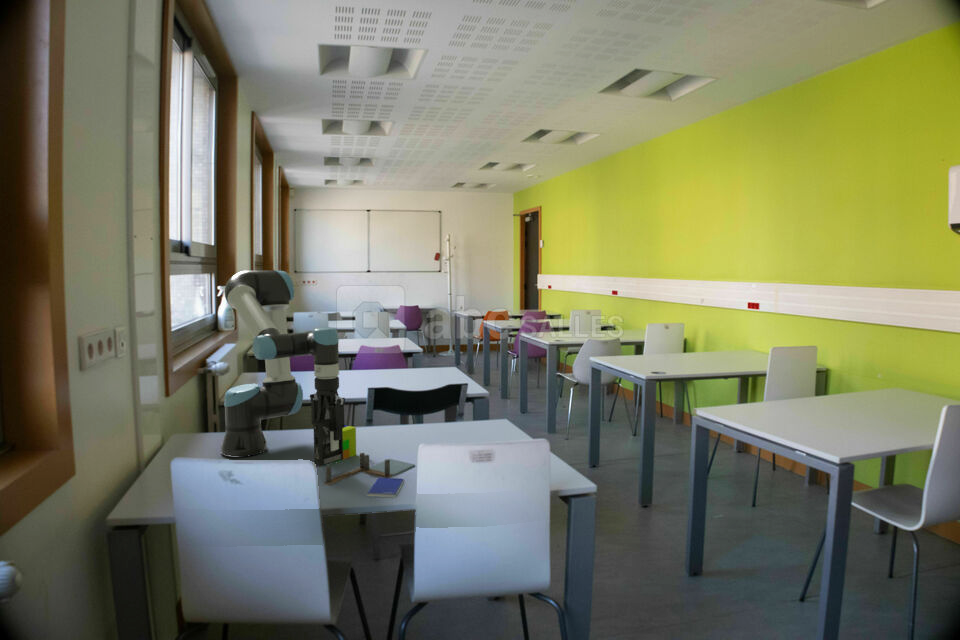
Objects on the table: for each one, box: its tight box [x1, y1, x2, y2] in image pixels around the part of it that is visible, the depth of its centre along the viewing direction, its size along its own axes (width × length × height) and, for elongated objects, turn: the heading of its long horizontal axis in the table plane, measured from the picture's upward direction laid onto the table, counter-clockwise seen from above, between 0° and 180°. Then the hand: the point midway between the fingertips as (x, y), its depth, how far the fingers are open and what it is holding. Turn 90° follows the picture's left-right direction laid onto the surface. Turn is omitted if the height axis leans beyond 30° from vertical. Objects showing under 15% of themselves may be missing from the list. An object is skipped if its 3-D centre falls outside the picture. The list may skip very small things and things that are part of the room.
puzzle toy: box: [334, 425, 357, 464], centre depth 200 cm, size 10×10×10 cm
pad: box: [369, 458, 416, 477], centre depth 189 cm, size 11×11×1 cm
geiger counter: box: [313, 417, 344, 468], centre depth 184 cm, size 10×4×15 cm, turn 142°
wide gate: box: [324, 452, 366, 486], centre depth 181 cm, size 2×16×6 cm, turn 148°
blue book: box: [366, 477, 405, 498], centre depth 171 cm, size 2×8×12 cm
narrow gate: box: [362, 454, 392, 478], centre depth 183 cm, size 2×10×6 cm, turn 58°
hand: (328, 448), depth 185 cm, fingers closed on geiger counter, 5 cm apart
